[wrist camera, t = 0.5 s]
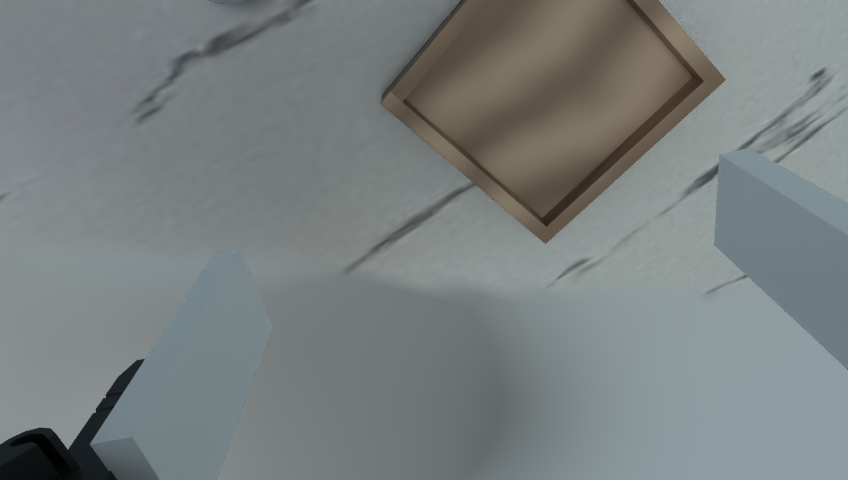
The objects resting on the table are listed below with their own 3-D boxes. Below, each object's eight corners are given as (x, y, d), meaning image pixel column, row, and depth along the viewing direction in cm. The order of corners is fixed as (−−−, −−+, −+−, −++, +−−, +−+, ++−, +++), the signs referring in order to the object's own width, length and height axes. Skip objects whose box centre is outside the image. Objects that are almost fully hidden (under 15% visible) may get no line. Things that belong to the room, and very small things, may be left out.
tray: (382, 95, 38) (380, 103, 35) (551, -108, 32) (562, -114, 30) (538, 229, 43) (545, 243, 40) (707, 72, 37) (725, 79, 35)
